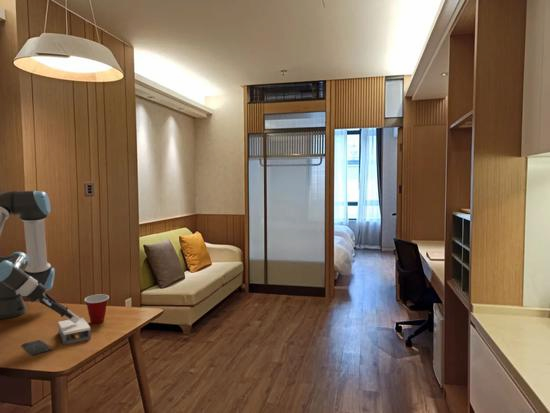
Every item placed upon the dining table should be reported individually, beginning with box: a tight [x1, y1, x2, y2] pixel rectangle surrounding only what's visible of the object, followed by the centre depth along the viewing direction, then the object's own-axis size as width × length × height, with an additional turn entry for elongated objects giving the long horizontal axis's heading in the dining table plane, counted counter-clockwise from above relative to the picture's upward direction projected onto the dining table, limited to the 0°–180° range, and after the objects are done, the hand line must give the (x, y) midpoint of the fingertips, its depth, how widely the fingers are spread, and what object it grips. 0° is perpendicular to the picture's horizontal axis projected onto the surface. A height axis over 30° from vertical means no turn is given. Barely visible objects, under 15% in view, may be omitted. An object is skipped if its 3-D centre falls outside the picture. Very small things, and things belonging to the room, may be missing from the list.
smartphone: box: [21, 339, 53, 357], centre depth 151 cm, size 7×1×15 cm
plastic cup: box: [84, 293, 110, 325], centre depth 180 cm, size 11×11×12 cm
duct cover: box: [58, 316, 91, 335], centre depth 163 cm, size 16×10×1 cm, turn 37°
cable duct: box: [57, 324, 92, 345], centre depth 163 cm, size 16×10×4 cm, turn 37°
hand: (77, 320), depth 164 cm, fingers closed
